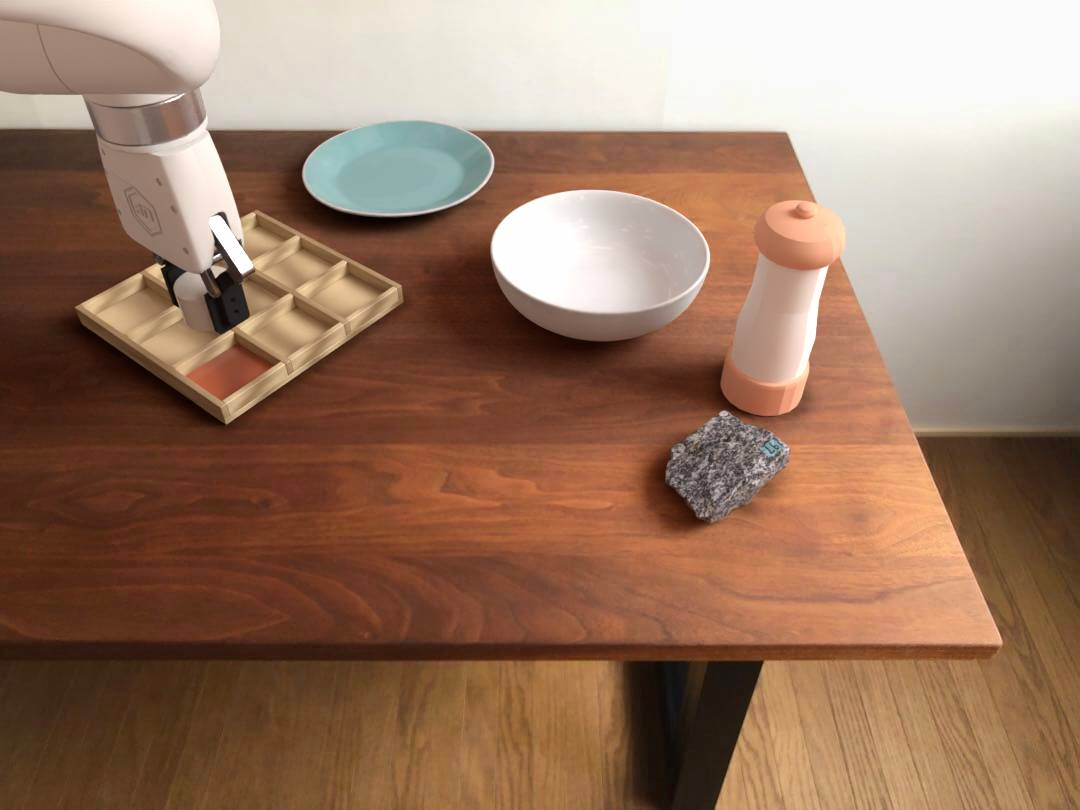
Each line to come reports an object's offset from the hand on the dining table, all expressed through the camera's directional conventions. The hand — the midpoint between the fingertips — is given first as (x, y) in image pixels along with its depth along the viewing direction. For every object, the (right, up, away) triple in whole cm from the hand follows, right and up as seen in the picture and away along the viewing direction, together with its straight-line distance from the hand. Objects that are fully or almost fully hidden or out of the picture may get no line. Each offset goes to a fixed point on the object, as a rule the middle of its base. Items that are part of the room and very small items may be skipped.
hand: (211, 310), depth 75 cm
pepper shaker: (+48, -7, +6) cm, 49 cm away
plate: (+11, +18, +30) cm, 37 cm away
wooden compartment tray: (-1, +1, +13) cm, 13 cm away
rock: (+43, -15, -2) cm, 45 cm away
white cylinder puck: (0, 0, 0) cm, 0 cm away
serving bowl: (+33, +2, +15) cm, 37 cm away
